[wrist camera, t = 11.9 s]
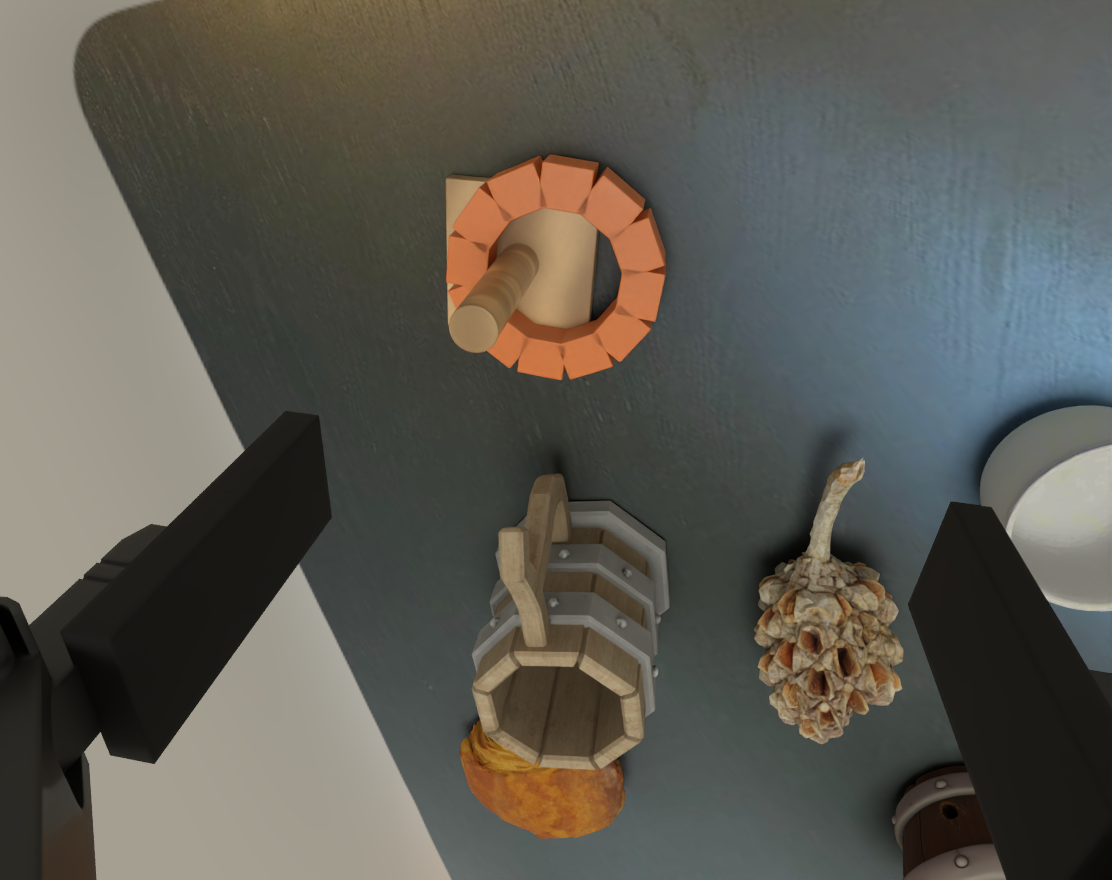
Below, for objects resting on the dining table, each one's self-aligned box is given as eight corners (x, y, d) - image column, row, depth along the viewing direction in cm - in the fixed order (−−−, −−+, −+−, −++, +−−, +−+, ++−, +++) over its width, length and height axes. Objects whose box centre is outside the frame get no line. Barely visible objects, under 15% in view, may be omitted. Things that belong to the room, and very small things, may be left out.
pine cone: (883, 662, 56) (918, 776, 48) (754, 664, 58) (766, 773, 50) (892, 408, 46) (939, 497, 37) (736, 422, 48) (746, 508, 39)
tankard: (672, 629, 58) (668, 803, 45) (518, 628, 60) (472, 792, 47) (654, 405, 48) (642, 543, 35) (472, 414, 51) (399, 547, 38)
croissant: (614, 669, 64) (606, 736, 57) (636, 803, 69) (631, 881, 62) (458, 674, 67) (431, 738, 59) (490, 802, 72) (469, 876, 65)
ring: (685, 177, 40) (685, 185, 38) (641, 379, 46) (639, 395, 44) (465, 139, 41) (453, 145, 39) (452, 343, 47) (441, 357, 45)
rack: (602, 188, 42) (574, 244, 32) (589, 334, 47) (561, 425, 36) (451, 174, 43) (375, 223, 32) (452, 318, 47) (386, 402, 37)
